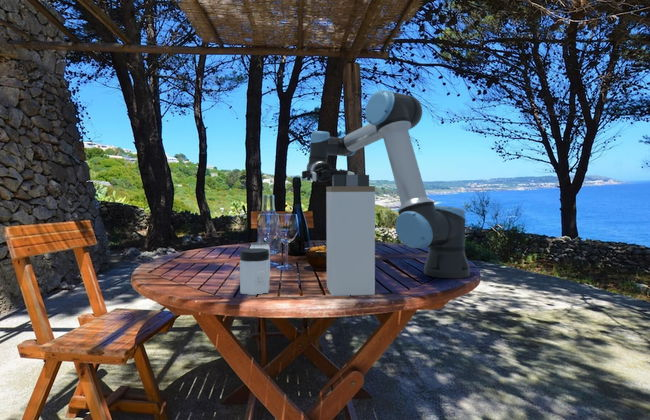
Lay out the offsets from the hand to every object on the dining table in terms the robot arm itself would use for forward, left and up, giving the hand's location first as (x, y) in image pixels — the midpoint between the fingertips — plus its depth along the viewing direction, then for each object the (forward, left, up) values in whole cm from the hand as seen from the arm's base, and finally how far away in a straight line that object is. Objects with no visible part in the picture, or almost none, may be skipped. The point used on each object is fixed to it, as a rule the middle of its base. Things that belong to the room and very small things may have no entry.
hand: (334, 177), depth 149 cm
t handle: (-4, +20, -3) cm, 20 cm away
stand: (-5, +26, -33) cm, 42 cm away
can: (+24, +13, -34) cm, 43 cm away
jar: (+22, +29, -34) cm, 49 cm away
